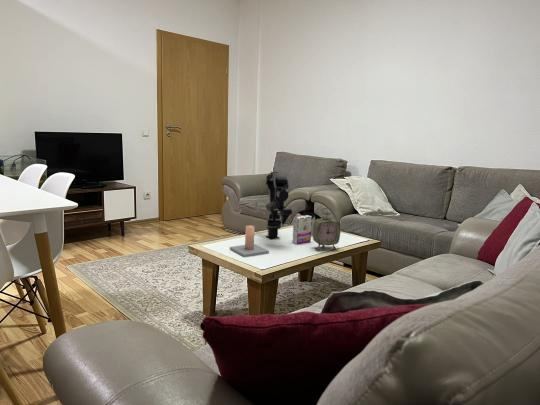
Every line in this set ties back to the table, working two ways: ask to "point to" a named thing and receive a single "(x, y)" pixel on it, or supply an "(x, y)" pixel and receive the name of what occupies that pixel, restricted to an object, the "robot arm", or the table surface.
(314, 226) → the tabletop clock
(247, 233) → the terracotta canister
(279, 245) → the table surface
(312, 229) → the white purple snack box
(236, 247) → the slate board
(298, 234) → the candy bar box
